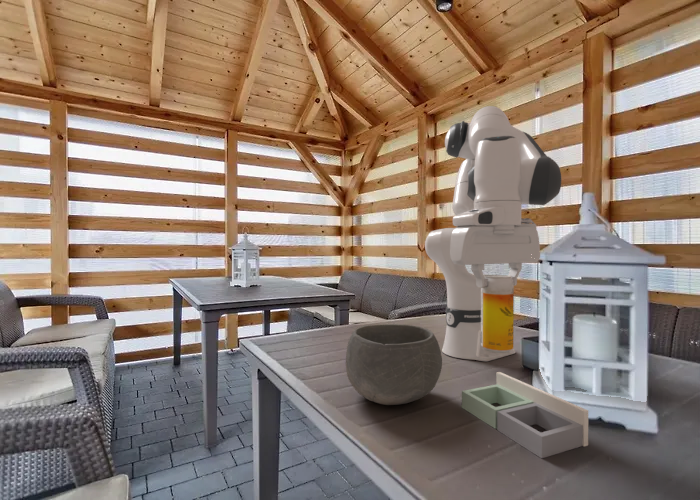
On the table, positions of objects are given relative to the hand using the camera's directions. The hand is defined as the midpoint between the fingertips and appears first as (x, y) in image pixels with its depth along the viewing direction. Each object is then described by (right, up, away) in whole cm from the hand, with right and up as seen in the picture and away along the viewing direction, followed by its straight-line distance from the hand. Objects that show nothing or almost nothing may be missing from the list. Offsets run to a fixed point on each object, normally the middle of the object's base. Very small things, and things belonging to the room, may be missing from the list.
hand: (496, 286), depth 74 cm
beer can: (0, -13, 0) cm, 13 cm away
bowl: (-20, -26, +8) cm, 34 cm away
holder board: (+2, -26, -4) cm, 26 cm away
